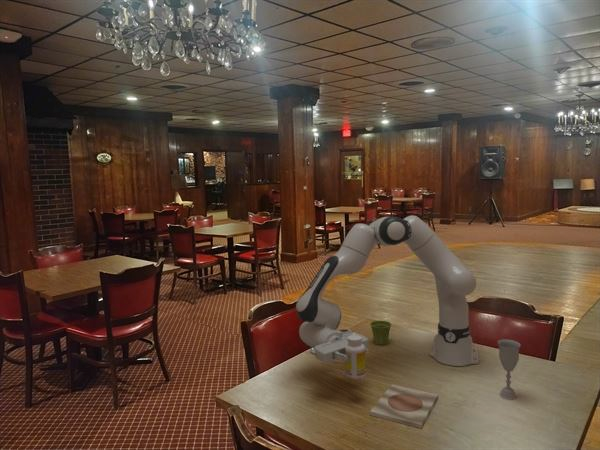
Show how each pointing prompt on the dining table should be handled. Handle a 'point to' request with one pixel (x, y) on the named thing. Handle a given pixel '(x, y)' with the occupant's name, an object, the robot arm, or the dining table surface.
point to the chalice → (508, 363)
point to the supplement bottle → (355, 357)
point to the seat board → (405, 406)
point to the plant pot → (380, 331)
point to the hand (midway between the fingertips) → (357, 355)
